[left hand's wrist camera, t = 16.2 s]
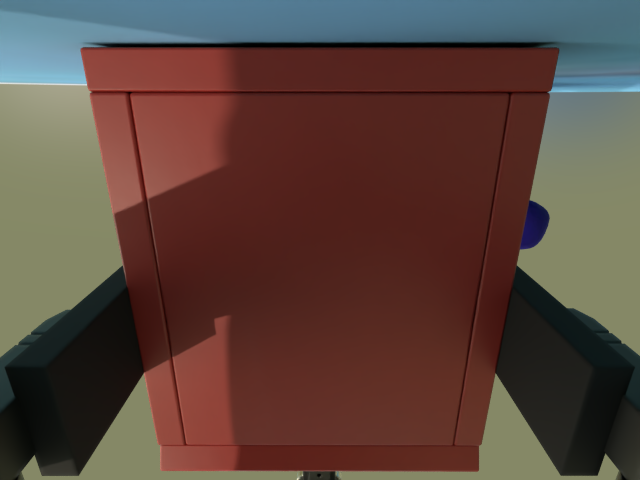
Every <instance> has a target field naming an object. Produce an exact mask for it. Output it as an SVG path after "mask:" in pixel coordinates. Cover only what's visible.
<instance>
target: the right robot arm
mask: <svg viewBox="0 0 640 480" xmlns="http://www.w3.org/2000/svg"><path fill="white" fill-rule="evenodd" d="M297 480H342V479H341V471H298V472H297Z"/></svg>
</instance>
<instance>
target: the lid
mask: <svg viewBox="0 0 640 480" xmlns="http://www.w3.org/2000/svg"><path fill="white" fill-rule="evenodd" d="M160 470H161V471H447V472H448V471H449V472H452V471H453V472H477V471H479V446H457V445H455V444H454V443H453V445H188V444H186V443H185V444H184V445H160Z"/></svg>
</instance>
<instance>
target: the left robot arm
mask: <svg viewBox="0 0 640 480" xmlns="http://www.w3.org/2000/svg"><path fill="white" fill-rule="evenodd" d="M143 374H144V370H143V365H142V360H141V355H140V350H139V344H138V339H137V334H136V329H135V324H134V319H133V314H132V309H131V304H130V298H129V293H128V288H127V284H126V279H125V273H124V268H123V266H122V267H120V268H119V269H118V270H117V271H116V272H115V273H113V274H112V275H111V276H110V277H109V278H108V279H106V280H105V281H104V282H103V283H102V284H101V285H99V286H98V287H97V288H96V289H95V290H94V291H92V292H91V293H90V294H89V295H88V296H87V297H85V298H84V299H83V300H82V301H81V302H80V303H78V304H77V305H76V306H75V307H74V308H73V309H71V310H65V311H63V312H61V313H59V314H57V315H55V316H53V317H51V318H49V319H47V320H46V321H45V322H43V323H42V324H41V325H40V326H38V327H37V328H36V329H35V330H33V331H32V332H31V335H27V336H26V337H25V338H24V339H22V340H21V341H20V342H19V344H18V345H15V346H14V347H13V348H11V349H10V350H9V351H8V352H7V353H5V354H4V355H3V356H2V357H0V480H24V478H23V475H22V472H21V471H22V470H23V469H24V467H25V466H26V465H27V464H28V462H29V461H30V460H31V459H32V457H33V456H34V455H35V457H36V460H37V463H38V466H39V469H40V472H41V475H42V476H79V474H80V473H81V471H82V470H83V468H84V466H85V465H86V463H87V462H88V460H89V459H90V457H91V455H92V454H93V452H94V451H95V449H96V447H97V446H98V444H99V443H100V441H101V440H102V438H103V436H104V435H105V433H106V432H107V430H108V429H109V427H110V425H111V424H112V422H113V421H114V419H115V418H116V416H117V414H118V413H119V411H120V410H121V408H122V407H123V405H124V403H125V402H126V400H127V399H128V397H129V396H130V394H131V392H132V391H133V389H134V388H135V386H136V385H137V383H138V381H139V380H140V378H141V377H142V375H143ZM496 374H497V376H498V377H499V379H500V380H501V382H502V384H503V385H504V387H505V388H506V390H507V391H508V393H509V395H510V396H511V398H512V399H513V401H514V403H515V404H516V406H517V407H518V409H519V410H520V412H521V414H522V415H523V417H524V418H525V420H526V421H527V423H528V425H529V426H530V428H531V429H532V431H533V432H534V434H535V436H536V437H537V439H538V440H539V442H540V443H541V445H542V447H543V448H544V450H545V451H546V453H547V454H548V456H549V458H550V459H551V461H552V462H553V464H554V466H555V467H556V469H557V470H558V472H559V473H560V475H561V476H597V475H598V473H599V470H600V467H601V464H602V461H603V458H604V456H605V453H606V454H607V456H608V457H609V458H610V459H611V461H612V462H613V463H614V464H615V466H616V467H617V468H618V469H619V472H618V475H617V478H616V480H640V356H639V355H638V354H637V353H635V352H634V351H633V350H632V349H630V348H629V347H628V346H627V345H626V344H622V343H621V340H619V339H618V338H617V337H616V336H614V335H613V334H612V333H609V331H608V330H607V329H606V328H605V327H603V326H602V325H601V324H600V323H598V322H597V321H596V320H595V319H593V318H591V317H589V316H587V315H585V314H583V313H581V312H580V311H578V310H576V309H573V308H566V307H565V306H563V305H562V304H561V303H560V302H559V301H558V300H556V299H555V298H554V297H553V296H552V295H551V294H549V293H548V292H547V291H546V290H545V289H544V288H542V287H541V286H540V285H539V284H538V283H537V282H535V281H534V280H533V279H532V278H531V277H530V276H528V275H527V274H526V273H525V272H524V271H523V270H522V269H520V268H519V267H518V266H516V271H515V276H514V281H513V286H512V291H511V297H510V302H509V307H508V312H507V317H506V322H505V327H504V332H503V337H502V342H501V347H500V353H499V358H498V363H497V368H496Z"/></svg>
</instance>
